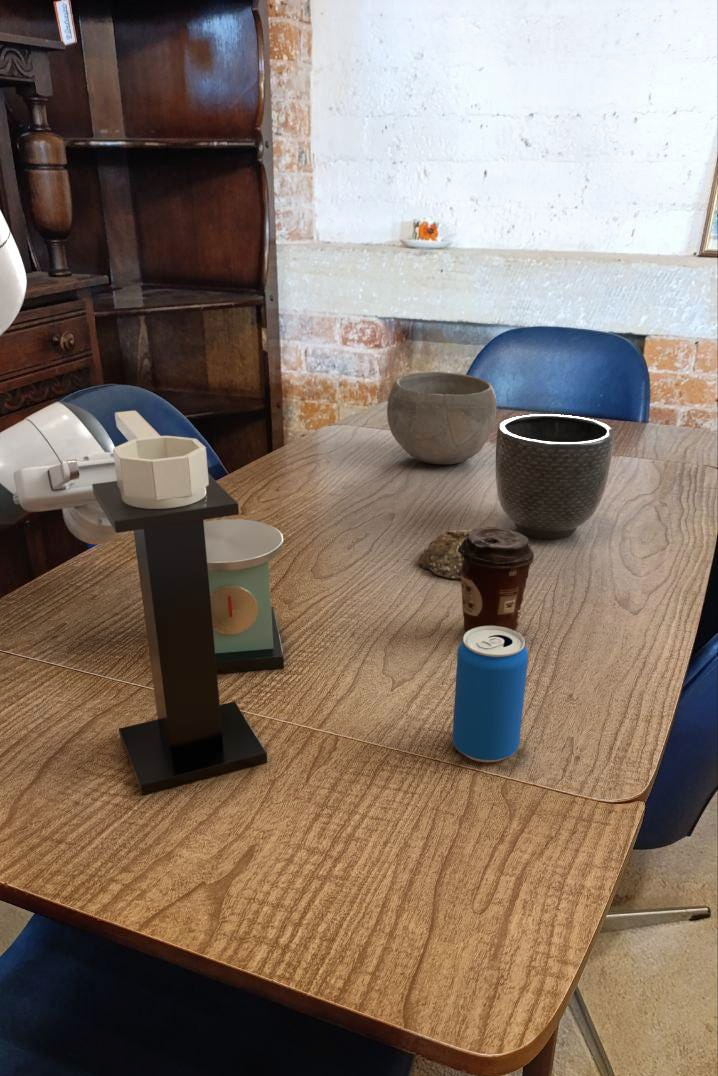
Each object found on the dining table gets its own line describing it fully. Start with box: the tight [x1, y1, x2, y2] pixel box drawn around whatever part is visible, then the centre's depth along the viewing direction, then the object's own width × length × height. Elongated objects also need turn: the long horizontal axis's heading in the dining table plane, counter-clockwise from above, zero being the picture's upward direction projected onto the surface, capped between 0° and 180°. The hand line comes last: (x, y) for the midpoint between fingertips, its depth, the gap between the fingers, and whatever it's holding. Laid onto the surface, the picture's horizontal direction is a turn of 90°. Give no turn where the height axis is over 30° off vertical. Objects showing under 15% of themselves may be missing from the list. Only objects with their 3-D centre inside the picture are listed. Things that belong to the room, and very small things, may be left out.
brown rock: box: [417, 529, 472, 581], centre depth 124 cm, size 13×12×5 cm
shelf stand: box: [92, 473, 268, 796], centre depth 79 cm, size 10×12×26 cm
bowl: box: [386, 371, 498, 465], centre depth 168 cm, size 21×21×15 cm
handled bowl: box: [113, 410, 209, 509], centre depth 76 cm, size 17×7×4 cm, turn 25°
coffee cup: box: [458, 526, 535, 636], centre depth 103 cm, size 9×8×13 cm
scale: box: [204, 518, 285, 675], centre depth 101 cm, size 13×13×14 cm
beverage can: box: [451, 626, 529, 763], centre depth 83 cm, size 6×6×12 cm
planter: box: [495, 414, 616, 540], centre depth 134 cm, size 17×17×16 cm
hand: (117, 461), depth 91 cm, fingers open, 8 cm apart
